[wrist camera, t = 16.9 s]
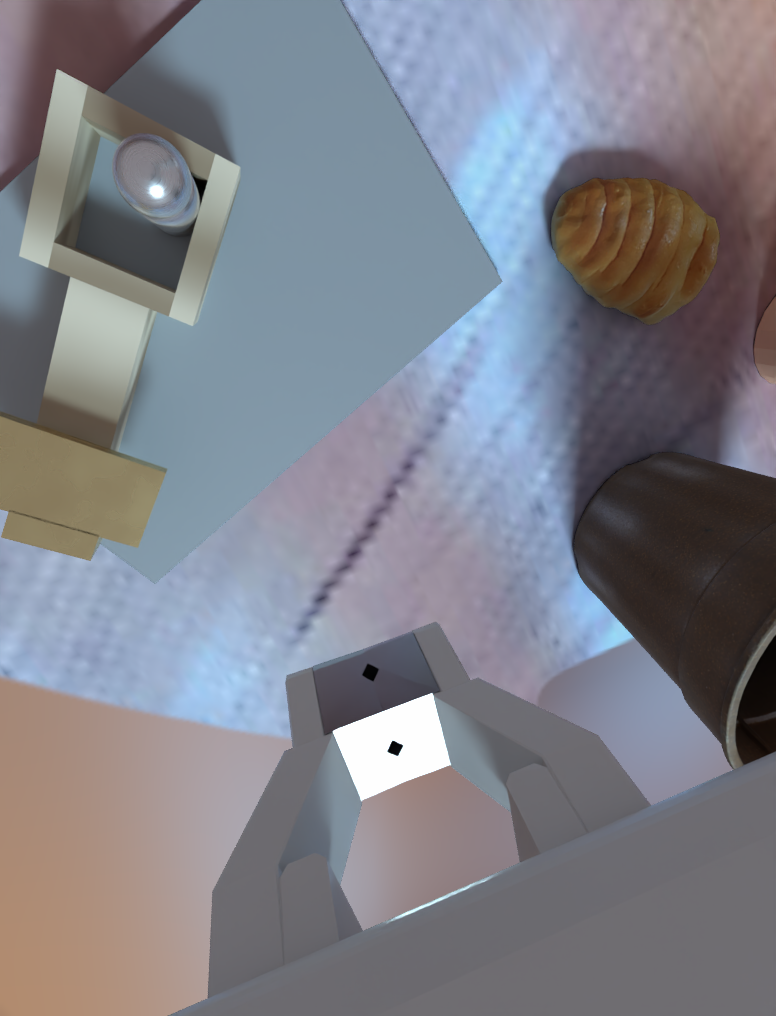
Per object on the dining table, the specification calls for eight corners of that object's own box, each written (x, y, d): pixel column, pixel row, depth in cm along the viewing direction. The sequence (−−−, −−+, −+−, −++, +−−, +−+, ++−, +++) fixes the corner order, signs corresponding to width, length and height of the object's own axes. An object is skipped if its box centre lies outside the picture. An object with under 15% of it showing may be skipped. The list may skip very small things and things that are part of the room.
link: (80, 96, 21) (56, 69, 18) (240, 180, 23) (240, 166, 21) (3, 449, 25) (-24, 468, 23) (146, 489, 28) (136, 510, 25)
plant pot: (511, 609, 38) (673, 800, 24) (598, 397, 33) (869, 479, 19) (673, 628, 44) (883, 793, 30) (769, 448, 39) (1077, 543, 25)
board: (289, -76, 21) (290, -86, 21) (497, 281, 29) (502, 281, 28) (-155, 346, 23) (-164, 348, 22) (156, 578, 30) (154, 584, 30)
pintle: (175, 163, 23) (144, 104, 15) (216, 213, 24) (205, 180, 16) (135, 200, 23) (85, 159, 16) (177, 248, 24) (150, 231, 17)
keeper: (30, 389, 25) (-15, 411, 21) (177, 443, 28) (166, 473, 23) (2, 485, 26) (-45, 525, 22) (146, 527, 29) (129, 571, 25)
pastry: (522, 279, 29) (560, 278, 26) (568, 147, 27) (615, 127, 24) (646, 328, 33) (694, 332, 29) (695, 213, 31) (752, 203, 27)
